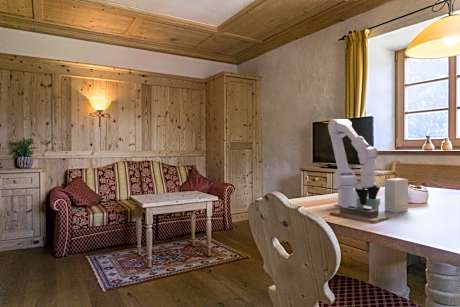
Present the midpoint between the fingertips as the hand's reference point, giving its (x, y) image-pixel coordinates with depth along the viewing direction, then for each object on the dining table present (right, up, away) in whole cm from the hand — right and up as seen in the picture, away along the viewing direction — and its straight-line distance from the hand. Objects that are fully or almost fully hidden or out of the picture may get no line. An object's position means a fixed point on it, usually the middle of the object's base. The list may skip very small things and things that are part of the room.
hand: (367, 203), depth 141 cm
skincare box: (+14, -4, +2) cm, 14 cm away
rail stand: (-8, -4, -8) cm, 12 cm away
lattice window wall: (+9, -3, +21) cm, 23 cm away
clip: (0, -4, 0) cm, 4 cm away
